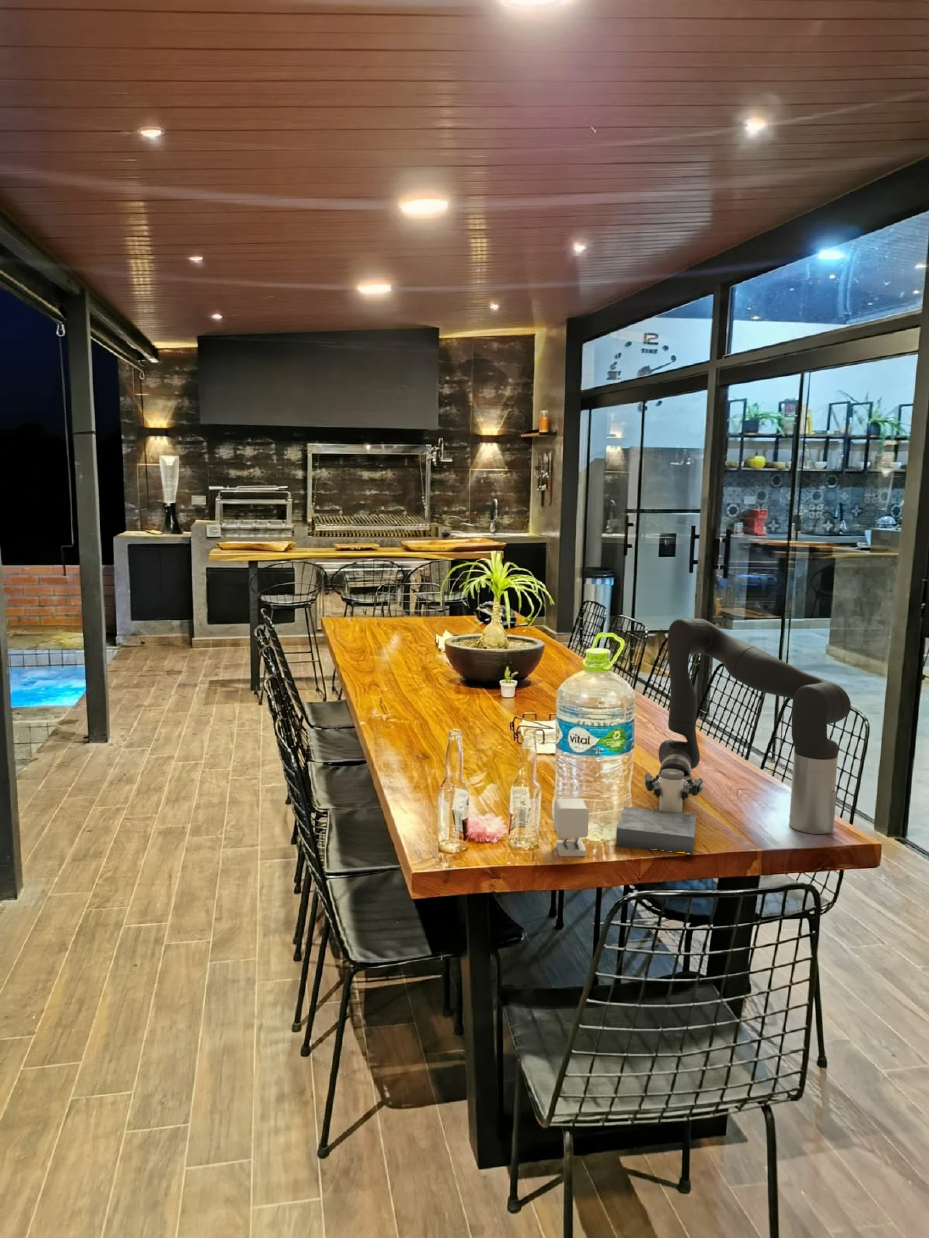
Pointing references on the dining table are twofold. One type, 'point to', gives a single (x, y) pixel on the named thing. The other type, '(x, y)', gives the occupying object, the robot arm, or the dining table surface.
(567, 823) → the security camera
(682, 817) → the block
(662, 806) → the canister
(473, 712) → the dining table surface
